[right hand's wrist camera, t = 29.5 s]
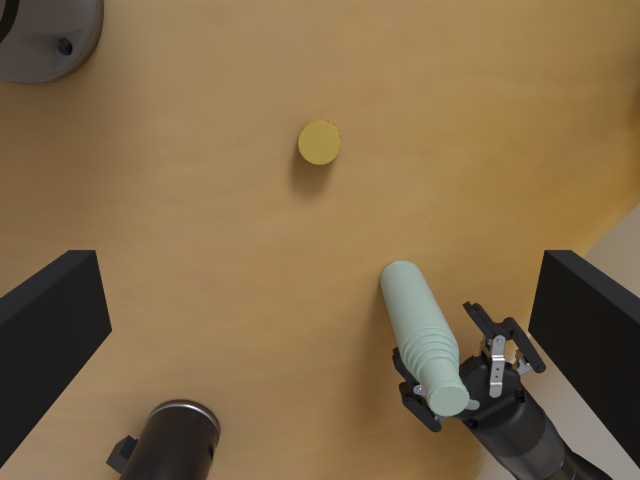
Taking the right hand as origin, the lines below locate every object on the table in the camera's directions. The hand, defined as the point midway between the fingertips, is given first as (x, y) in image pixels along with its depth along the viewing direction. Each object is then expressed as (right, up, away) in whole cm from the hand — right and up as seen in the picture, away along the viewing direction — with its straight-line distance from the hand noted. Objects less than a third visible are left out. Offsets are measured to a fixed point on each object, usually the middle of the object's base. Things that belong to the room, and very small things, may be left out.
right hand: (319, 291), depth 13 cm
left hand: (+11, -8, +30) cm, 33 cm away
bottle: (+9, -3, +35) cm, 36 cm away
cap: (0, +11, +27) cm, 29 cm away
